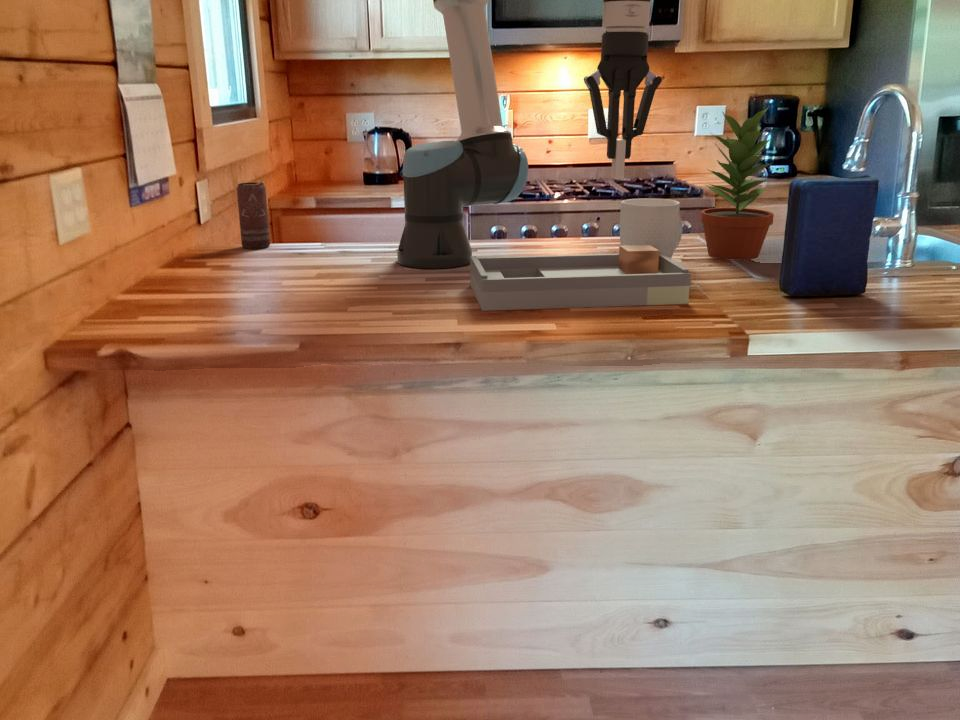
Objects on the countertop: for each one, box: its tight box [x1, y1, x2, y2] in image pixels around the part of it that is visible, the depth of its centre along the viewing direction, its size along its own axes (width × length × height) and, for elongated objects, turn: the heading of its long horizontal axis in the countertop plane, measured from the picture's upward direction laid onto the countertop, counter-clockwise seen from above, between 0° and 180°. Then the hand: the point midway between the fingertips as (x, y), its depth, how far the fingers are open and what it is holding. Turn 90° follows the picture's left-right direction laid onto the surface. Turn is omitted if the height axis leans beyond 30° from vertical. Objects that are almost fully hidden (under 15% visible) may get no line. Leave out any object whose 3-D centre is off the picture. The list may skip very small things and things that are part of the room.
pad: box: [646, 269, 691, 306], centre depth 147 cm, size 7×18×3 cm, turn 7°
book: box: [778, 174, 880, 297], centre depth 141 cm, size 14×5×20 cm, turn 97°
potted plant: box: [699, 105, 775, 261], centre depth 173 cm, size 15×15×30 cm
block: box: [618, 244, 659, 274], centre depth 149 cm, size 6×6×4 cm
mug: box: [619, 197, 683, 259], centre depth 163 cm, size 15×11×13 cm
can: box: [236, 181, 271, 250], centre depth 187 cm, size 6×6×14 cm
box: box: [469, 252, 692, 312], centre depth 145 cm, size 34×18×6 cm, turn 97°
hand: (617, 178), depth 146 cm, fingers closed
